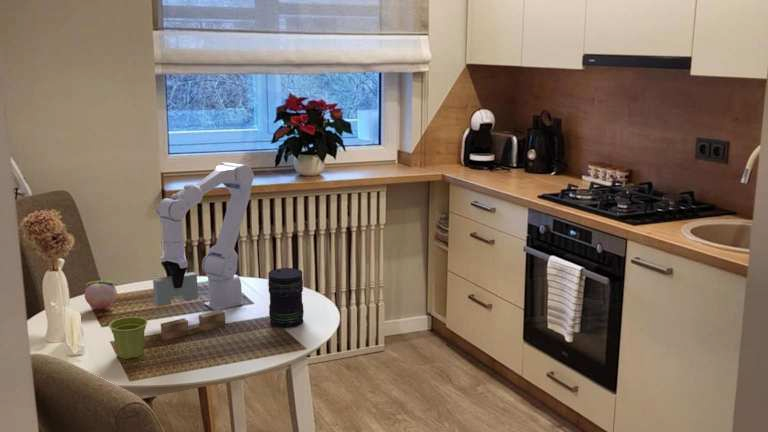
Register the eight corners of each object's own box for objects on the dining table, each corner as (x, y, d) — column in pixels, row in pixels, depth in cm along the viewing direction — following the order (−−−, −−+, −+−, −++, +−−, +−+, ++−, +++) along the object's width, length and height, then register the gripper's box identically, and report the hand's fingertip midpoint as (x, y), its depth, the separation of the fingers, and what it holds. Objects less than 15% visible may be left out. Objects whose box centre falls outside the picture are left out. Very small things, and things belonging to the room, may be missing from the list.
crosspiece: (194, 296, 227) (193, 272, 225) (198, 298, 225) (196, 274, 223) (154, 304, 220) (153, 279, 218) (158, 306, 218) (156, 281, 216)
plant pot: (157, 350, 202) (154, 319, 200) (134, 364, 194) (132, 331, 192) (127, 345, 205) (124, 314, 203) (103, 359, 197) (101, 327, 195)
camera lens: (310, 322, 223) (310, 272, 219) (284, 331, 216) (283, 280, 212) (288, 314, 229) (287, 265, 226) (262, 322, 222) (260, 273, 219)
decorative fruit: (118, 303, 238) (116, 272, 236) (118, 311, 230) (115, 280, 228) (86, 306, 235) (83, 275, 233) (85, 315, 228) (82, 283, 225)
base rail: (221, 322, 222) (220, 309, 221) (225, 325, 220) (224, 312, 219) (161, 337, 211) (160, 323, 210) (165, 340, 209) (164, 326, 208)
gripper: (150, 237, 221) (153, 282, 225) (169, 248, 210) (172, 295, 213) (173, 233, 226) (176, 278, 229) (193, 244, 214) (196, 290, 217)
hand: (176, 286), depth 221 cm, fingers closed on crosspiece, 3 cm apart
